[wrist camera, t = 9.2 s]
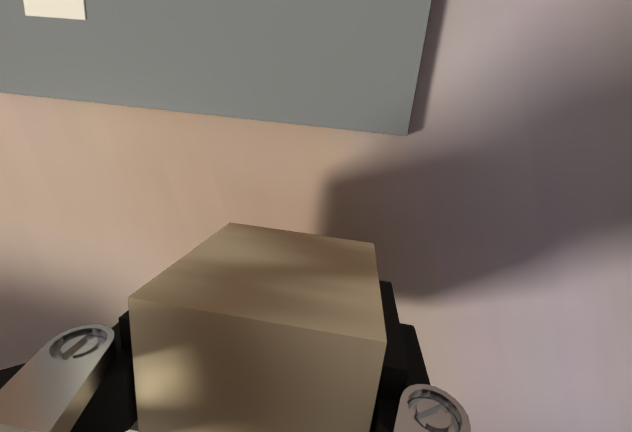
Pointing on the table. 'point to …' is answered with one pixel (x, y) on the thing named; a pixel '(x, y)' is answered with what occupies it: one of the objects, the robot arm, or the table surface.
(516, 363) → the table surface
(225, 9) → the letter board
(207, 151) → the table surface
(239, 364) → the wood block
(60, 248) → the table surface
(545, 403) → the table surface
